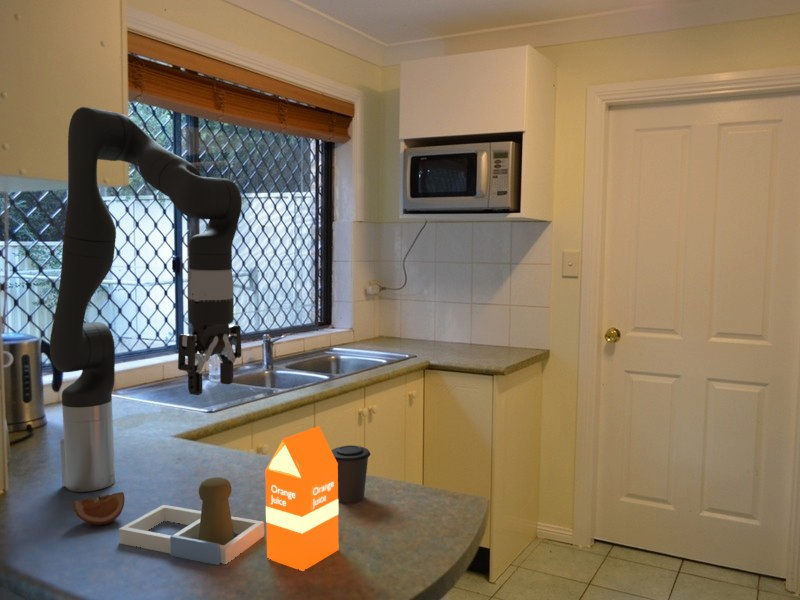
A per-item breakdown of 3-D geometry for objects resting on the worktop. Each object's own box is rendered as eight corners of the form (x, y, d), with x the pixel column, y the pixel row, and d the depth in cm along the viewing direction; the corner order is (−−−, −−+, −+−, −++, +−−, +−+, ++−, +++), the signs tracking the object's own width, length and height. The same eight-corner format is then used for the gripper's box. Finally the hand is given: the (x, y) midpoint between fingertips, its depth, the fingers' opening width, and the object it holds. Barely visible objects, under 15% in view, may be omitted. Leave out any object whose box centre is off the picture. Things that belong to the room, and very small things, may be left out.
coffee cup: (378, 495, 136) (378, 445, 135) (355, 509, 129) (355, 457, 128) (344, 488, 140) (344, 439, 139) (320, 501, 133) (319, 450, 132)
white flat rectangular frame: (116, 544, 115) (115, 526, 114) (163, 518, 125) (163, 500, 125) (223, 566, 107) (223, 546, 107) (264, 535, 118) (263, 517, 118)
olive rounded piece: (220, 533, 119) (219, 471, 118) (242, 543, 115) (241, 479, 114) (190, 545, 114) (188, 480, 113) (212, 556, 111) (210, 489, 110)
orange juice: (266, 558, 110) (263, 435, 108) (303, 538, 117) (301, 422, 115) (303, 571, 106) (301, 443, 104) (339, 549, 113) (338, 429, 111)
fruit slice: (75, 534, 119) (73, 506, 118) (73, 520, 125) (71, 493, 124) (127, 524, 123) (126, 497, 122) (122, 511, 129) (121, 485, 128)
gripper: (218, 291, 126) (218, 378, 128) (164, 298, 113) (165, 395, 115) (253, 293, 124) (253, 382, 125) (202, 301, 110) (203, 400, 112)
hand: (211, 388), depth 120 cm, fingers open, 8 cm apart
